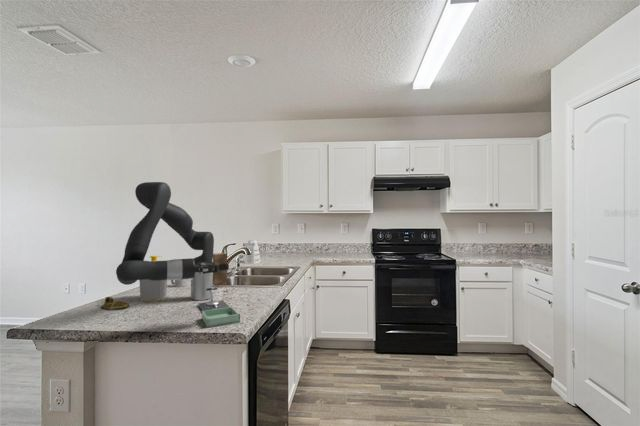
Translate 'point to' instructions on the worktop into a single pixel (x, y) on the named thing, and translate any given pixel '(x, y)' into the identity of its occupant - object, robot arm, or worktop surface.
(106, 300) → the seal
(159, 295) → the soap bottle
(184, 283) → the mug
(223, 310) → the tray
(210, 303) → the crank bed
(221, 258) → the brown wooden block
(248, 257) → the grater
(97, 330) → the worktop surface
